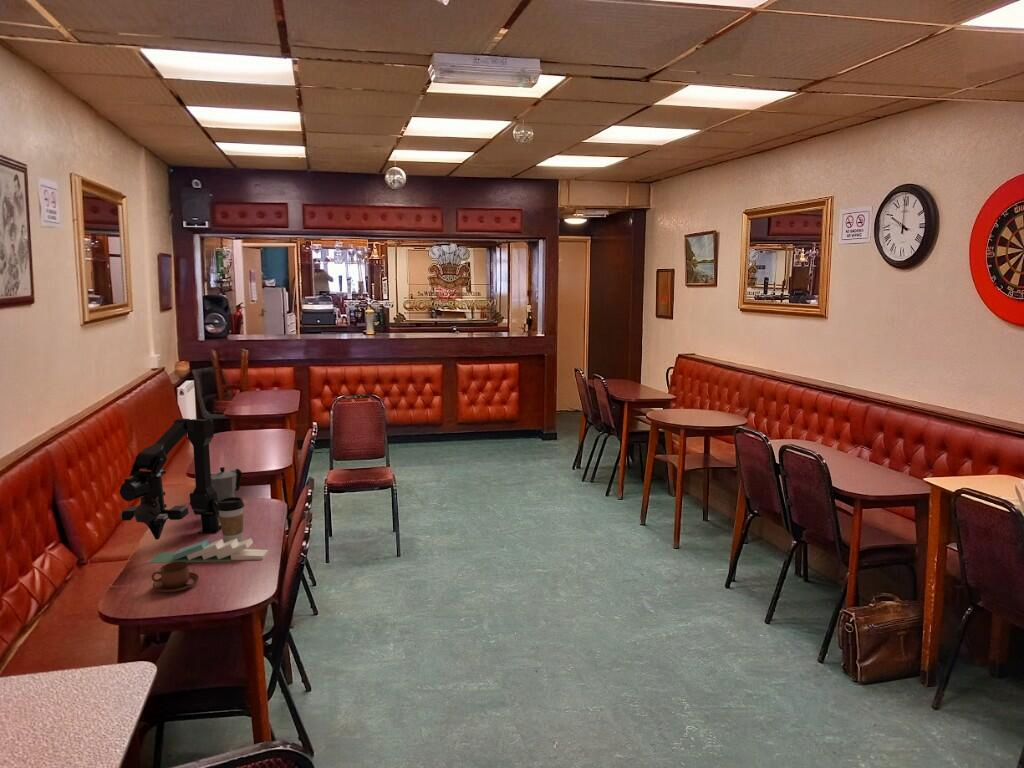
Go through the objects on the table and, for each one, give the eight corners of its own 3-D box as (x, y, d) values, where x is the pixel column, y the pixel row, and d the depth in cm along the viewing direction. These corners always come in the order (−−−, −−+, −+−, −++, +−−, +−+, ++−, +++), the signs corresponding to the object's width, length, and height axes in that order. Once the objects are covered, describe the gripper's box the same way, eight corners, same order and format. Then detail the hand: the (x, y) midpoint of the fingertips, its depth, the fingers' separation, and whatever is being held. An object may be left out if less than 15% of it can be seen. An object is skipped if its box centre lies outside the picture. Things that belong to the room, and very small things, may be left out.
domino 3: (208, 549, 233) (236, 538, 232) (210, 553, 233) (238, 542, 232) (201, 555, 228) (230, 544, 227) (203, 559, 228) (232, 548, 227)
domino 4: (222, 548, 233) (251, 537, 232) (224, 553, 233) (253, 542, 232) (216, 555, 228) (245, 543, 227) (218, 559, 228) (247, 548, 227)
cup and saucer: (157, 600, 202) (155, 579, 202) (149, 585, 212) (147, 565, 211) (203, 588, 209) (201, 568, 208) (193, 574, 219) (191, 555, 218)
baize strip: (160, 554, 235) (160, 552, 235) (239, 553, 234) (239, 551, 234) (148, 564, 227) (148, 562, 227) (229, 563, 226) (229, 561, 226)
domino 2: (193, 549, 233) (221, 538, 232) (195, 553, 233) (224, 543, 232) (186, 555, 228) (215, 544, 227) (188, 560, 228) (217, 549, 227)
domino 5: (237, 548, 233) (268, 550, 232) (237, 553, 233) (268, 554, 233) (230, 554, 228) (262, 556, 228) (231, 559, 228) (262, 561, 228)
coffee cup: (216, 547, 239) (212, 503, 237) (225, 538, 248) (221, 495, 245) (242, 547, 240) (238, 503, 237) (250, 537, 248) (247, 495, 246)
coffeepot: (221, 521, 264) (217, 473, 261) (202, 518, 268) (198, 470, 266) (253, 508, 278) (249, 462, 275) (235, 505, 282) (231, 460, 279)
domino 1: (179, 549, 233) (208, 538, 232) (182, 553, 233) (210, 543, 232) (172, 555, 228) (201, 544, 227) (174, 560, 228) (203, 549, 227)
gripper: (108, 499, 219) (114, 549, 222) (170, 499, 219) (175, 548, 222) (128, 488, 230) (133, 536, 233) (187, 487, 230) (191, 535, 233)
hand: (157, 539), depth 230 cm, fingers closed
